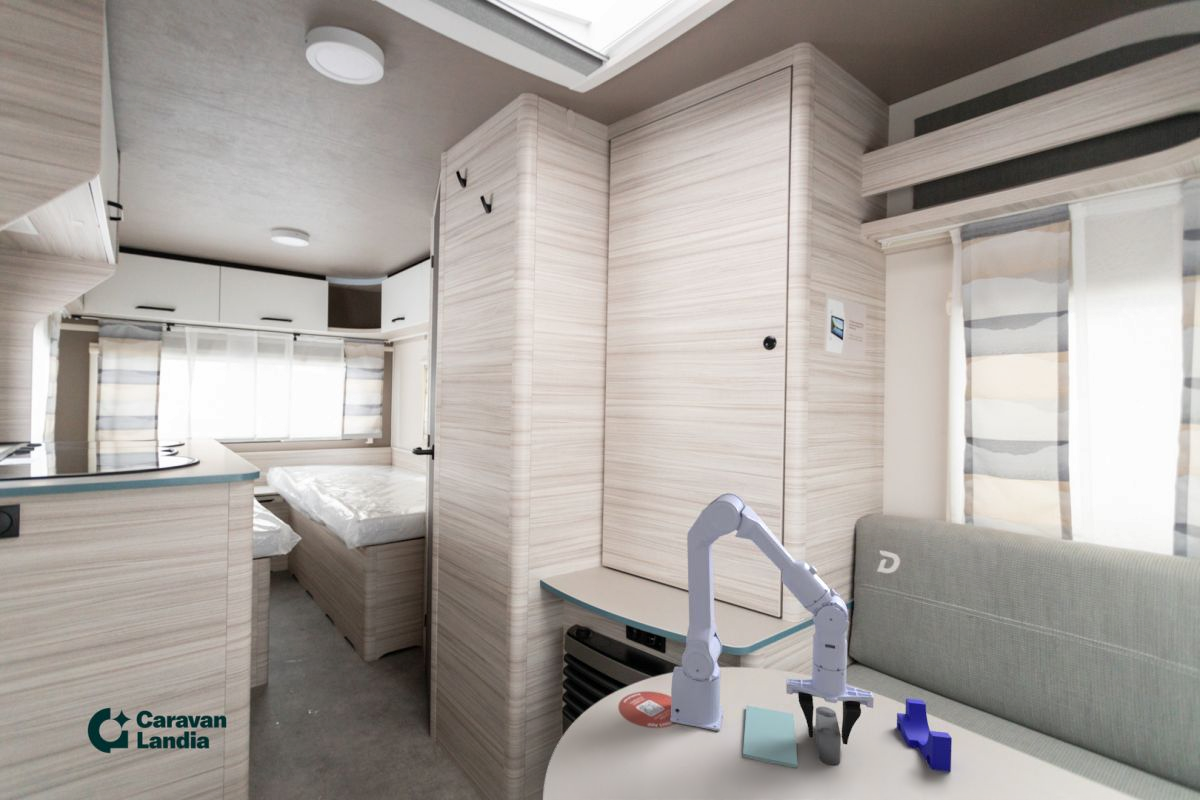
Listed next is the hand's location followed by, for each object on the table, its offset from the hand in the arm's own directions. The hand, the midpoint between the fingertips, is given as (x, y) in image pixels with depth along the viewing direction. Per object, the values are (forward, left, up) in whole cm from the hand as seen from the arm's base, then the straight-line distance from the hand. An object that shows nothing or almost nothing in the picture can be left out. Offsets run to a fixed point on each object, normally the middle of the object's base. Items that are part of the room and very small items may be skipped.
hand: (827, 737), depth 100 cm
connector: (0, 0, -2) cm, 2 cm away
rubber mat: (-10, 0, -2) cm, 10 cm away
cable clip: (+17, +5, -2) cm, 18 cm away
